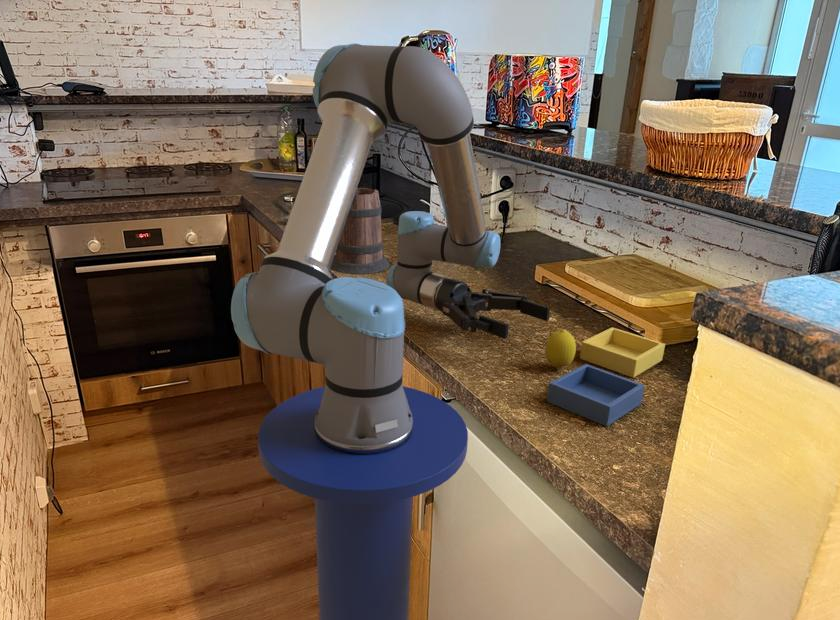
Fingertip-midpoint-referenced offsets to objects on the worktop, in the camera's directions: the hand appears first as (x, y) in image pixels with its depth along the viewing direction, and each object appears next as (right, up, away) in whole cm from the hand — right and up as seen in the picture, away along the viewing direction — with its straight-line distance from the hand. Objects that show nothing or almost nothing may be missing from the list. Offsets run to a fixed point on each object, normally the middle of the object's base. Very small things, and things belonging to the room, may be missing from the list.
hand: (528, 322), depth 131 cm
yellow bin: (+19, -7, +3) cm, 20 cm away
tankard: (-38, +20, +59) cm, 73 cm away
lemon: (+5, -9, -2) cm, 11 cm away
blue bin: (+9, -14, -14) cm, 22 cm away
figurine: (-63, +38, +96) cm, 121 cm away
